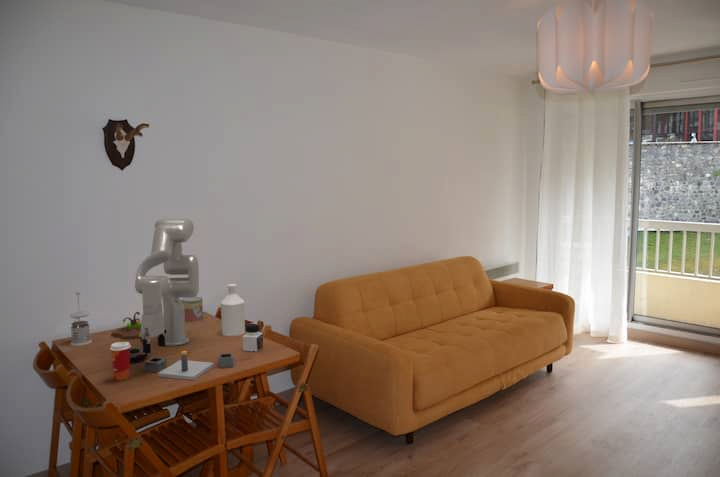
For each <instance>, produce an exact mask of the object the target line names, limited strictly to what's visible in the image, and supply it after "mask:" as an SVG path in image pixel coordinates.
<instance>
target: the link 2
mask: <svg viewBox="0 0 720 477" xmlns="http://www.w3.org/2000/svg"><path fill="white" fill-rule="evenodd" d="M217 359H218V360H217V362H218V363H217V364H218V368H223V369H224V368H233V367H234V362H235V361H234V360H235V359H234V352H230V353H226V352H225V353H219V354H218V357H217Z"/></svg>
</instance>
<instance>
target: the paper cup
mask: <svg viewBox="0 0 720 477" xmlns="http://www.w3.org/2000/svg"><path fill="white" fill-rule="evenodd" d="M131 347H132V345H131V344H130V342H129V341H118V342H114V343H111V345H110V348H109V349H110V353H111V361H112V369H113V376H114V377H113V378H114V380H115V381H119V382H120V381H121V380H122V381H126V380H128V379H130V377H131V363H130V349H131Z"/></svg>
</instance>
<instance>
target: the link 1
mask: <svg viewBox="0 0 720 477" xmlns="http://www.w3.org/2000/svg"><path fill="white" fill-rule="evenodd" d="M166 368H167V358H166V357H159V356H158V357H156V356H152V357H151V358H149V359H148V360H146V361H144V372H151V373H159V372H161V371H162V370H164V369H166Z"/></svg>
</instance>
